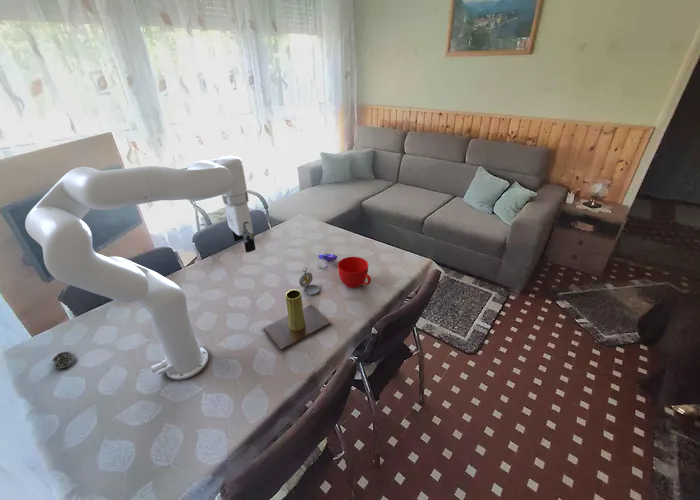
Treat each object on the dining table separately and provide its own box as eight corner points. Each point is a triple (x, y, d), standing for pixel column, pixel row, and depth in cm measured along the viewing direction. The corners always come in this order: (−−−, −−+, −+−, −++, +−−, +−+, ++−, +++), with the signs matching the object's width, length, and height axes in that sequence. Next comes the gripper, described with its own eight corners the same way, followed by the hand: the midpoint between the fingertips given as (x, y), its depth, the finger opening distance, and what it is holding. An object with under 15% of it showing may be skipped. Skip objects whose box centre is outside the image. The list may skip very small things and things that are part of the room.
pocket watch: (317, 297, 133) (315, 277, 128) (297, 294, 135) (295, 274, 130) (322, 285, 140) (321, 266, 135) (304, 283, 141) (302, 264, 136)
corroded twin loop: (70, 350, 108) (68, 348, 108) (76, 363, 104) (75, 361, 103) (51, 359, 105) (50, 357, 105) (57, 373, 101) (55, 370, 100)
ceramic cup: (358, 301, 131) (358, 281, 125) (332, 282, 142) (331, 263, 137) (380, 288, 138) (381, 269, 133) (354, 272, 149) (354, 253, 144)
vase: (307, 320, 120) (304, 289, 112) (303, 331, 114) (299, 300, 107) (290, 319, 120) (287, 288, 113) (286, 330, 115) (282, 299, 108)
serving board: (281, 351, 108) (281, 349, 108) (264, 329, 117) (263, 327, 116) (329, 324, 119) (329, 322, 118) (310, 307, 128) (310, 305, 127)
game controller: (334, 249, 160) (342, 254, 151) (331, 264, 161) (339, 271, 153) (315, 247, 155) (322, 253, 147) (312, 263, 157) (319, 270, 148)
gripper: (214, 192, 104) (224, 239, 113) (234, 208, 93) (244, 259, 101) (236, 187, 108) (245, 233, 117) (258, 202, 97) (266, 251, 105)
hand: (244, 245), depth 109 cm, fingers open, 9 cm apart
